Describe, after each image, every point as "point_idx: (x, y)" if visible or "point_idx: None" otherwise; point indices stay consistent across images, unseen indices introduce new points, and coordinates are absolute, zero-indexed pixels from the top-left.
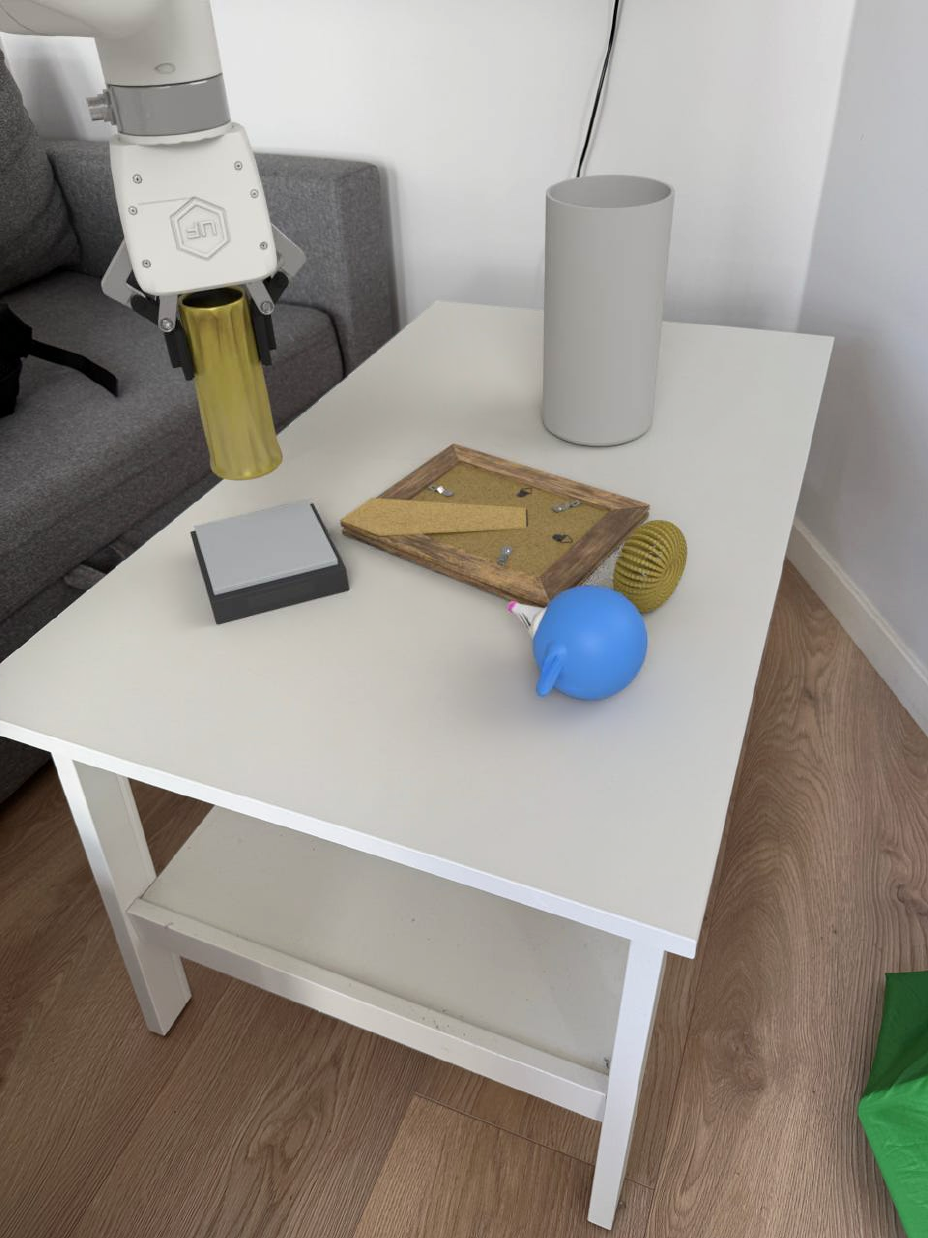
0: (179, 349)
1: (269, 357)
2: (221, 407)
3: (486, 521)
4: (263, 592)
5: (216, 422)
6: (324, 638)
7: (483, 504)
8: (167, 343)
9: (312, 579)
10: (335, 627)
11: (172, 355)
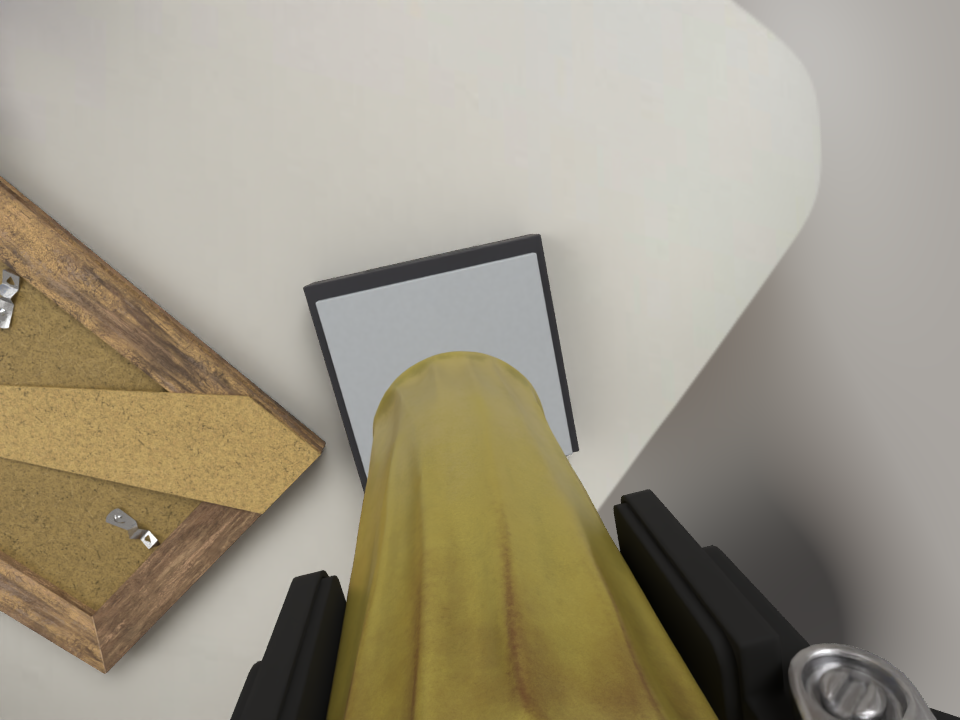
0: (714, 567)
1: (293, 594)
2: (511, 429)
3: (39, 412)
4: (451, 253)
5: (529, 420)
6: (355, 158)
7: (49, 473)
8: (779, 615)
9: (366, 272)
10: (336, 184)
11: (731, 573)
